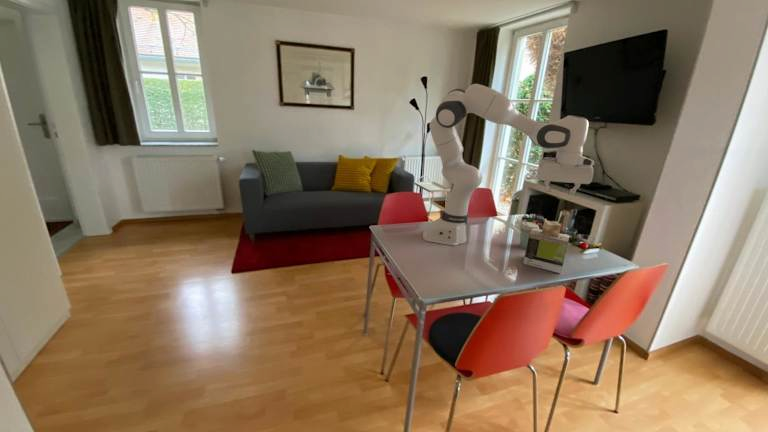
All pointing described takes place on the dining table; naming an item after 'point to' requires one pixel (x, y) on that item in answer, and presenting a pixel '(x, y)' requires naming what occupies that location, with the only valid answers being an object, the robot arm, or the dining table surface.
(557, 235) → the oak block
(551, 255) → the tea box
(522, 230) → the coffee cup
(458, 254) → the dining table surface
